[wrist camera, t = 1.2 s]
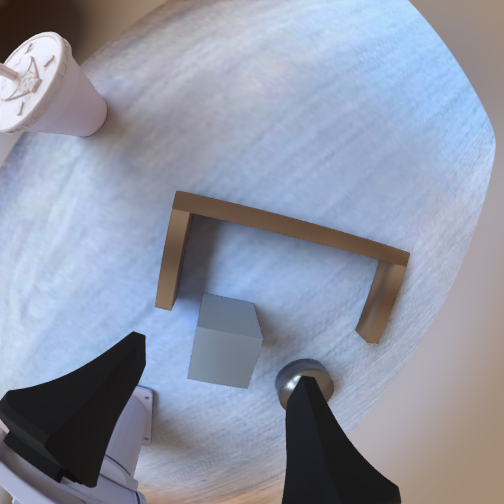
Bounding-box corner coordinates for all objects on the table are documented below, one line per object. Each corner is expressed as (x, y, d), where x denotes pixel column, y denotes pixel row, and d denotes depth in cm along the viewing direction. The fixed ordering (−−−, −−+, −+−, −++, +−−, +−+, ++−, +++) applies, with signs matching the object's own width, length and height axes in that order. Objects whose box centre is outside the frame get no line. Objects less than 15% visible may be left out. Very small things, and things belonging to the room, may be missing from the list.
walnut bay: (365, 331, 23) (377, 343, 21) (162, 295, 21) (154, 306, 18) (394, 247, 22) (410, 252, 20) (182, 191, 19) (176, 190, 17)
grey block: (241, 344, 22) (247, 388, 16) (194, 335, 22) (187, 378, 16) (252, 302, 22) (263, 338, 16) (203, 292, 21) (196, 326, 15)
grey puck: (314, 398, 25) (321, 414, 22) (268, 395, 24) (272, 412, 21) (332, 360, 24) (342, 374, 21) (283, 355, 23) (289, 370, 21)
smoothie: (85, 74, 16) (-7, -1, 3) (137, 95, 17) (48, -5, 4) (48, 137, 17) (-70, 108, 3) (95, 165, 18) (-40, 140, 4)
